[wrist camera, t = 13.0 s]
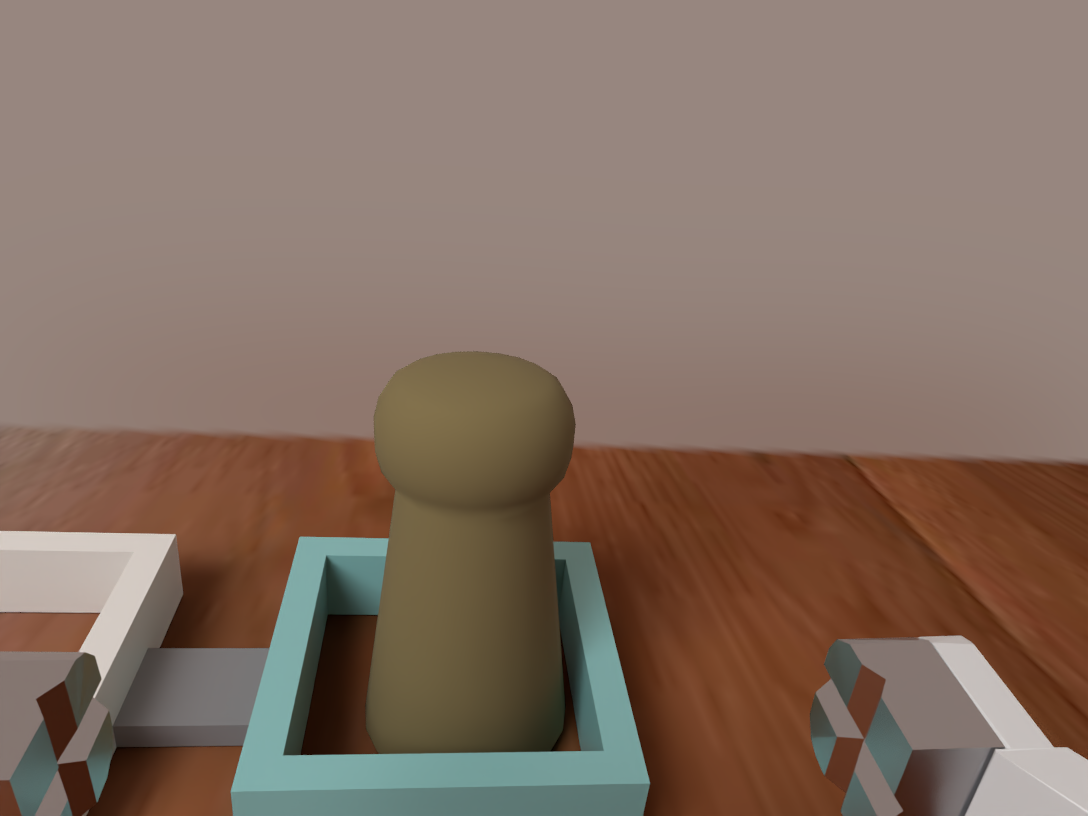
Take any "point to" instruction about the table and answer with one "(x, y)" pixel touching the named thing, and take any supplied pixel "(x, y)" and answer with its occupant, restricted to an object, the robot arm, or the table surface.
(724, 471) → the table surface
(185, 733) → the white socket
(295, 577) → the teal socket
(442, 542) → the olive pawn
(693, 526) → the table surface
